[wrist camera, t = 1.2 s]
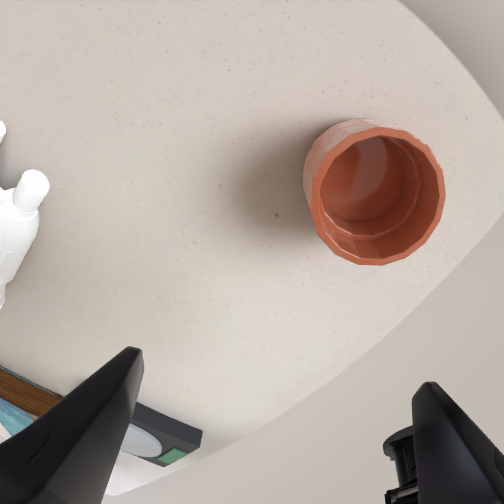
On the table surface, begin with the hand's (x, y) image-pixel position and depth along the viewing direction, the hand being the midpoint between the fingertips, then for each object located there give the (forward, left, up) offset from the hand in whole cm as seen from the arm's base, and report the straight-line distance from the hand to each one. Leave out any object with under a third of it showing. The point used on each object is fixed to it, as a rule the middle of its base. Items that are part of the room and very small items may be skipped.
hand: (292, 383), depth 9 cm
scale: (-20, +26, -12) cm, 35 cm away
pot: (+1, -5, -12) cm, 13 cm away
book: (-19, +48, -12) cm, 53 cm away
